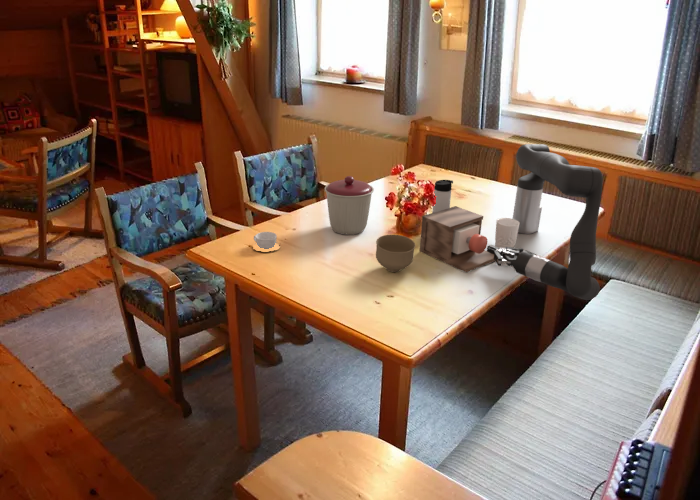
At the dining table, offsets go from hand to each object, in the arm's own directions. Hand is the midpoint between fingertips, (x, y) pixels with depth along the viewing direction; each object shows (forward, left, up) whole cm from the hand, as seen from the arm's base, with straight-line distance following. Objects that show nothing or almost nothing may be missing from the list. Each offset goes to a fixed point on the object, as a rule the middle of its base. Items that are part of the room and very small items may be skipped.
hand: (488, 247), depth 189 cm
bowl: (+30, -7, -7) cm, 32 cm away
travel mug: (0, -33, -7) cm, 34 cm away
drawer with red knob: (+3, -8, -4) cm, 10 cm away
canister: (+33, -44, -7) cm, 56 cm away
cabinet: (+4, -11, -7) cm, 14 cm away
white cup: (-15, -12, -7) cm, 20 cm away
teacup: (+66, -37, -7) cm, 76 cm away
